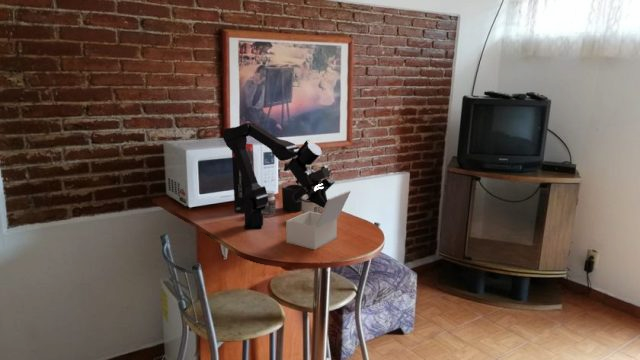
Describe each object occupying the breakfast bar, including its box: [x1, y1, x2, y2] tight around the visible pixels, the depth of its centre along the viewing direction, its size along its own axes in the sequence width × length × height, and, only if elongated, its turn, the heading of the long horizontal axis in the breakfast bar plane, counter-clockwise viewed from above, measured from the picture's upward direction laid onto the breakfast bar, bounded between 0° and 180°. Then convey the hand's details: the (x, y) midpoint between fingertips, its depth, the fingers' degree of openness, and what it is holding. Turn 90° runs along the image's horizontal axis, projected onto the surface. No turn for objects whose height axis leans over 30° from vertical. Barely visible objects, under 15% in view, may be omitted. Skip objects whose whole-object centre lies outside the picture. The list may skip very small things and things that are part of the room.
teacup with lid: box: [301, 195, 324, 214], centre depth 194 cm, size 12×9×12 cm
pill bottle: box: [262, 190, 277, 218], centre depth 198 cm, size 6×6×10 cm
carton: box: [285, 211, 338, 251], centre depth 169 cm, size 12×14×8 cm
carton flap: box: [316, 189, 351, 228], centre depth 163 cm, size 12×14×1 cm
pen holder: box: [281, 184, 302, 213], centre depth 207 cm, size 9×9×10 cm
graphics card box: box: [231, 143, 255, 214], centre depth 207 cm, size 17×7×27 cm, turn 179°
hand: (328, 208), depth 164 cm, fingers closed
